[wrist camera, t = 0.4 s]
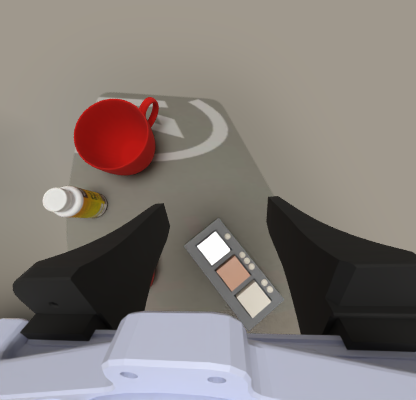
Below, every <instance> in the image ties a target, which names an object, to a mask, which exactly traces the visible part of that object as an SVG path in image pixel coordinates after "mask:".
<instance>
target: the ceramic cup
mask: <svg viewBox="0 0 416 400" xmlns="http://www.w3.org/2000/svg"><path fill="white" fill-rule="evenodd" d="M152 103H153V109H152V113H151V115H150V117H149V119H148V121H147V119H146V111H147V109H148V107H149V106H150V105H151V104H152ZM158 110H159V106H158V102H157V101H156V100H155V99H154V98H152V97H148V98H146V99H145V100H144V101H143V102H142V104H141V105H140V107H139V108H138V107H137V106H135V105H134V104H132V103H130V102H128V101H125V100H121V99H107V100H102V101H99V102H97V103H95V104H93V105H92V106H90V107H89V108H88V109H86V110H85V111H84V112H83V114H82V115H81V116H80V118H79V119H78V121H77V123H76V127H75V130H74V143H75V147H76V150H77V152H78V153H79V155H80V157H81V158H82V159H83V160H84V161H85V162H86V163H88V164H89V165H91V166H92V167H95V168H97V169H100V170H102V171H105V172H108V173H111V174H117V175H132V174H136V173H138V172H141V171H142V170H144V169H145V168H146V167H147V166H148V165H149V164H150V163H151V161H152V159H153V157H154V153H155V140H154V135H153V132H152V130H151V127H152V125H153V124H154V122H155V120H156V118H157V115H158Z"/></svg>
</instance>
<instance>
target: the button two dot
mask: <svg viewBox="0 0 416 400" xmlns="http://www.w3.org/2000/svg"><path fill="white" fill-rule="evenodd" d="M236 297H237V299H238V300H239V301H240V303H241V304H242V305H243V307H244V308H245V309H246V310H247V312H248V313H249V314H250V316H251V317H252V318H254V317H255V316H256V315H257V314H258V313H259V312H260V311H262V310H263V309H264V308H265V307H266V306H267V305H268V304H270V303H271V301H270V299H269V298H268V297H267V296H266V294H265V293H264V292H263V291H262V289H261V288H260V287H259V286H258V284H257V283H256V282H255V280H254V279H253V280H251V281H250V282H249V283H248V284H247V285H246V286H244V287H243V288H242V289H241V290H240V291H239V292H237V293H236Z"/></svg>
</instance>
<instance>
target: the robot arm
mask: <svg viewBox="0 0 416 400" xmlns="http://www.w3.org/2000/svg"><path fill="white" fill-rule="evenodd" d="M266 222H267V226H268V230H269V234H270V236H271V239H272V241H273V244H274V246H275V249H276V251H277V253H278V256H279V258H280V261H281V263H282V266H283V268H284V272H285V275H286V278H287V282H288V285H289V289H290V293H291V296H292V300H293V304H294V308H295V312H296V315H297V319H298V324H299V328H300V332H301V335H296V334H255V333H246V329H245V328H244V326H243V324H242V322H240V321H239V320H238V319H236V318H234V317H232V316H230V315H228V314H224V313H218V312H196V311H144V310H145V306H146V301H147V297H148V293H149V289H150V285H151V281H152V278H153V274H154V271H155V268H156V265H157V263H158V260H159V258H160V255H161V253H162V250H163V248H164V245H165V243H166V240H167V237H168V233H169V229H170V224H169V221H168V217H167V213H166V210H165V206H164V203H162V204H154V205H153V206H151V207H150V208H148V209H147V210H145V211H144V212H142V213H141V214H140V215H138V216H137V217H135V218H134V219H132V220H131V221H129V222H128V223H126V224H125V225H123V226H122V227H120V228H118V229H117V230H115V231H113V232H111V233H109V234H107V235H106V236H104V237H102V238H99V239H97V240H95V241H93V242H91V243H89V244H86V245H84V246H82V247H79V248H77V249H74V250H71V251H69V252H66V253H63V254H60V255H57V256H54V257H51V258H48V259H45V260H42V261H38V262H36V263H35V264H34V265H33V266H32V267H31V268H29V269H28V270H27V271H26V272H25V273H24V274H22V275H21V276H20V277H19V278H18V279H17V280H16V281H15V282H14V283H13V291H14V293H15V295H16V296H17V297H18V298H19V299H20V300H21V301H22V302H23V303H24V304H25V305H26V306H28V307H29V308H30V309H31V310H32V311H33V312H34V313H36V314H35V315H34V317H33V318H32V319H31V320H30V321H29V320H26V319H21V318H19V319H18V318H2V319H0V400H416V254H414V253H413V252H410V251H407V250H403V249H399V248H394V247H391V246H386V245H383V244H379V243H376V242H372V241H369V240H366V239H363V238H359V237H356V236H354V235H350V234H348V233H346V232H343V231H340V230H338V229H335V228H333V227H331V226H328V225H326V224H324V223H322V222H320V221H318V220H316V219H314V218H312V217H310V216H309V215H307V214H305V213H303V212H302V211H300V210H298V209H297V208H295V207H294V206H292V205H290V204H289V203H288V202H286V201H285V200H283V199H281V198H280V197H278V196H274V197H268V207H267V221H266Z"/></svg>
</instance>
